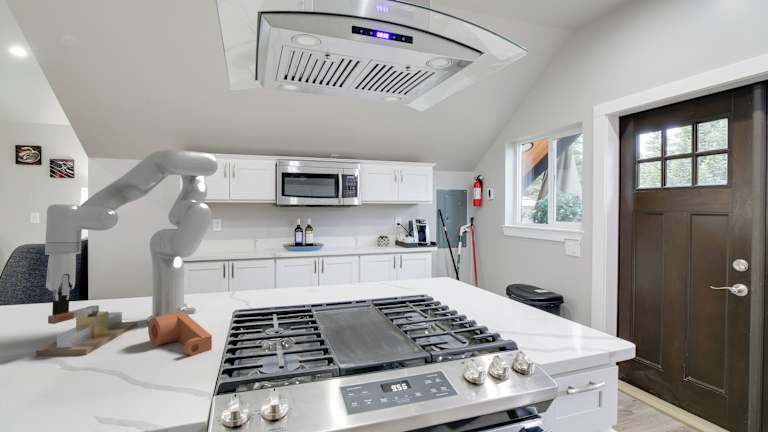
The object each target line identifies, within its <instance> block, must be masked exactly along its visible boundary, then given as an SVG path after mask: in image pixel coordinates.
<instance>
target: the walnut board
mask: <svg viewBox="0 0 768 432" xmlns="http://www.w3.org/2000/svg"><path fill="white" fill-rule="evenodd" d="M137 326H138V321H124V322H123V321H122V323H121V324H119V325H117V326H115V327H113V328H111V329H109V330H108V332H106V333H104V334H102V335H100V336H98V337H96V338H91V339H89V340H87V341H85V342H83V343H81V344H79V345H77V346H75V347H73V348H65V349H57V341H55V342H53V343H50V344H48V345H45V346H44V347H42V348H38V349H37V350H36V351H35V357H58V356H59V357H60V356H61V357H64V356H87V355H89V354H91V353H92V352H94V351H96V350H97V349H99V348H101V347H103V346H104V345H106V344H108V343H109V342H111V341H113V340H114V339H116V338H118V337H119V336H122V335H123V334H125V333H127V332H128V331H130V330H132V329H134V328H135V327H137Z"/></svg>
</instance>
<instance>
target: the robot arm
mask: <svg viewBox="0 0 768 432" xmlns="http://www.w3.org/2000/svg"><path fill="white" fill-rule="evenodd" d="M218 166H219V165H218V161H217V159H216V157H214V156H213V155H212V154H211V153H208V152H206V151H205V152H203V151H195V150H194V151H193V150H185V149H175V148H174V149H173V148H169V149H162V150H155V151H153V152H151V153H150V154H148V155H147V156H146V157H145V158H143V159H142V160H141V161H140V162H139V163H137V164H136V165H135V166H134V167H132V168H131V169H130V170H129V171H127V172H126V173H124V175H122V176H121V177H119V178H118V179H115V180H114V181H113V182H111V183H110V184H108V185H106V186H105V187H103V188H101V189H100V190H99V191H97V192H96V193H94V194H93V195H91V196H90V197H89V198H87V200H86V201H84V202H83V203H82V204H80V205H75V204H63V203H62V204H60V203H59V204H56V203H55V204H51V205H49V206H48V207H47V209H46V221H45V222H46V223H45V224H46V225H45V244H44V255H49V256H48V259H47V260H48V261H47V269H46V282H45V288H46V289H47V290H49V291H50V292H53V300H52V310H51V311H52V312H51V313H52V314H51V315H54V314H58V313H62V312H66V311H70V291H73V289H75V285H76V271H77V270H76V269H77V255H80V254H81V252H82V236H83V234H82V233H83V230H86V231H87V230H88V231H97V232H99V231H102V232H103V231H108V230H110V229H112V228H114V227H115V226H116V225H117V224H118V221H119V215H118V213H117V212H116V210H117V209H119V208H120V207H122V206H125V205H126V204H129V203H132V202H134V201H138V200H140V199H142V198H143V197H146V196H147V195H148V194H149V193H150V192H151V191H153V189H155V187H157V186H158V185H159V184H160V183H161V182H162V181H163V180H165V179H166V178H167V177H168V176H174V175H175V176H176V175H178V176H180V177H181V181H182V187H181V189H180V192H179V194H178V195H177V198H176V200H175V201H174V203H173V205H172V207H171V208H170V211H169V212H168V215H167V216H168V221H169V223H170V225H172V226H174V227H175V228H163V229H160V230H157V231H156V232H154V233H153V235H152V236H151V238H150V239H149V240H150V241H149V251H150V255H151V264H152V278H151V279H152V284H151V286H152V289H151V290H152V293H151V294H152V295H151V296H152V297H151V298H152V299H151V300H152V307H151V309H152V310H151V311H152V313H151V314H152V315H150V316H148V317H147V318H146V323H148V324H149V322H150V320H151V319H152V318H155V317H160V316H164V315H169V314H174V313H179V312H184V313H185V314H187V315H188V316H189V317H190V315H195V314H196V313H197V309H196V308H195V307H188V304H187V303H185V264H184V259H185V258H188V257H191V256H193V254H195V252H196V251H197V250H198V248H199V247H200V245H201V244H202V241H203V239H204V237H205V234H206V233H207V230H208V229H209V226H210V224H211V221H212V211H211V209H210V207H209V206H208V204H206V203H205V201H206V198H207V195H208V185H207V182H206V179H205V178H206V177H210V176H213V175H214V174H215V173H216V172H217V171H218Z"/></svg>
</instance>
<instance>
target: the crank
mask: <svg viewBox="0 0 768 432" xmlns="http://www.w3.org/2000/svg"><path fill="white" fill-rule="evenodd" d="M147 327H148V328H147V329H148V330H147V332H148V337H149V340H150V342H151V344H152V345H154V346H156V347H157V346H162V345H165V344H169V343H172V342H179V343H181V344H184V345H183V351H184V353H185V354H188V355H189V356H196V355H200V354H202V353H205V352H209V351H212V350H211V349H212V347H213V346H212V345H213V344H212V342H213V336H212V334H211V333H209V332H208V331H207V330H205V328H204V327H202V326H201V325H200V324H198V323H197V322H196V321H195V320H194V319H192V318H191V317H190V315H189V316H188V315H187V314H185V313H184V312H179V313H174V314H169V315H164V316H160V317H155V318H152V319H151V320H150V322H149V323H148V326H147Z"/></svg>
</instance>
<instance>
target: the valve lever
mask: <svg viewBox="0 0 768 432" xmlns="http://www.w3.org/2000/svg"><path fill="white" fill-rule="evenodd" d="M96 312H100V306H99V305H96V304H95V305H89V306H86V307H82V308H77V309H73V310H69V311H66V312H62V313H58V314H54V315H53V314H51V315H48V316H47V324H49V325H50V324H51V325H55V324H60V323H62V322H67V321H70V320H74V319H76V317H80V316H83V315H87V314H91V313H96Z"/></svg>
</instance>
